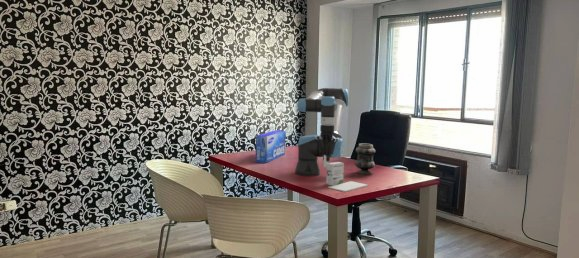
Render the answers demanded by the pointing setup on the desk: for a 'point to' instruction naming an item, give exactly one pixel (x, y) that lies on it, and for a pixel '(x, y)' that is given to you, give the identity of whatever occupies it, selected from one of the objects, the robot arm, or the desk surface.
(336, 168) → the ink box
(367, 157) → the apothecary jar
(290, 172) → the desk surface
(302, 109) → the robot arm
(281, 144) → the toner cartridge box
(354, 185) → the mat
